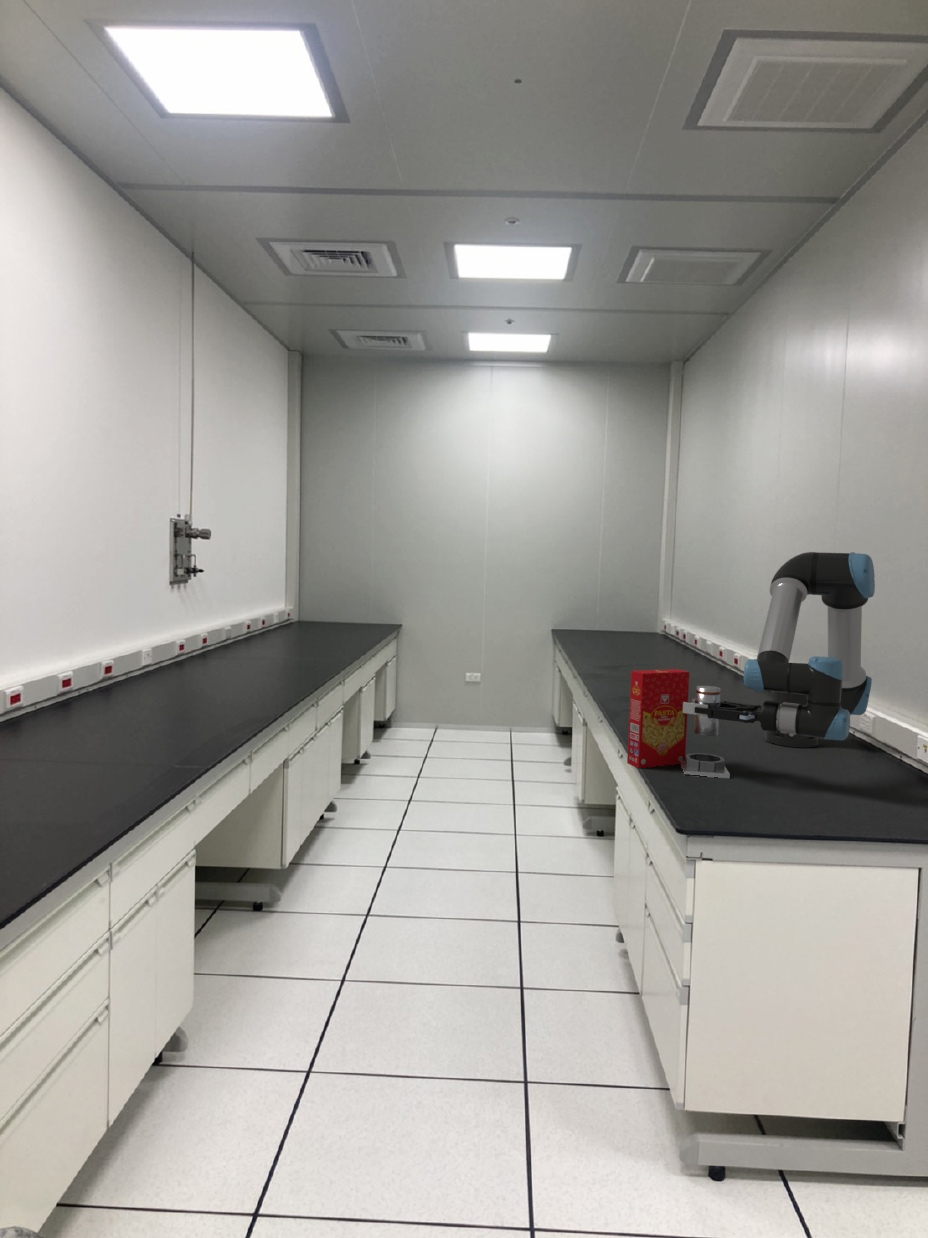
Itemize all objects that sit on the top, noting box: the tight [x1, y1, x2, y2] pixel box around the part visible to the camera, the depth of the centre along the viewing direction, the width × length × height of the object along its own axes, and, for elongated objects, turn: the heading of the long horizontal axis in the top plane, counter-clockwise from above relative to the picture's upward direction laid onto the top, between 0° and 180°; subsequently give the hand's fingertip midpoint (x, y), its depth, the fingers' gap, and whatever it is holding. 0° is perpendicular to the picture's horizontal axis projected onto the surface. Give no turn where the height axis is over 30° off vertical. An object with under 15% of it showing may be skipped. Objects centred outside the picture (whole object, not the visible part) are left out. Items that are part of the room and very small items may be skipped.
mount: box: [679, 752, 731, 779], centre depth 211 cm, size 11×11×4 cm
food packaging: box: [626, 668, 690, 769], centre depth 217 cm, size 15×5×25 cm, turn 112°
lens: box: [693, 685, 722, 737], centre depth 210 cm, size 6×6×12 cm
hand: (687, 705), depth 213 cm, fingers closed on lens, 6 cm apart
